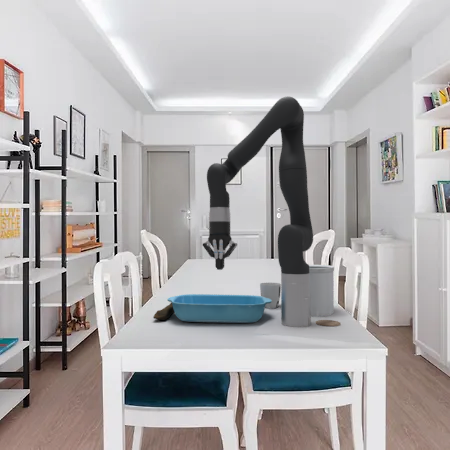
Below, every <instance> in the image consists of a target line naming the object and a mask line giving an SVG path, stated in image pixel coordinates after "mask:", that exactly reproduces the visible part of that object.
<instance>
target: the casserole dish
mask: <svg viewBox="0 0 450 450" xmlns="http://www.w3.org/2000/svg"><path fill="white" fill-rule="evenodd" d="M167 301H168V302H169V303H171V302H172V305H173V309H174V315H175V316H176V317H177V318H178V319H179V321H182V322H189V323H191V322H193V323H229V324H230V323H234V324H235V323H237V324H238V323H239V324H240V323H243V324H247V323H248V324H249V323H257V322H258V321H259V320H260V319H262V317H263V315H264V312H265V309H266V308H265V305H266V304H268V303H271V302H272V300H271V299H269V298H265V297H262V296H261V295H251V294H250V295H249V294H207V293H206V294H203V293H201V294H200V293H199V294H198V293H197V294H196V293H191V294H188V293H187V294H186V293H185V294H179V295H174V296H170V297H168V298H167Z"/></svg>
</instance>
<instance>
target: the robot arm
mask: <svg viewBox="0 0 450 450" xmlns="http://www.w3.org/2000/svg"><path fill="white" fill-rule="evenodd" d="M304 120H305V115H304V109H303V107H302V105H301V104H300V102H299V101H298V100H297V99H296V98H294V97H293V96H284V97H281V98H279V99H278V100H277V101H276V102H275V103H274V104H273V106H272V107H271V108H270V109H269V111H268V112H267V113H266V114H265V115H264V116H263V118H262V119H261V120H260V121H259V122H258V123H257V125H256V126H255V127H254V128H253V129H252V130H251V132H249V134H247V135H246V136H245V137H244V138H243V139H242V140H241V141H240V142H239V143H238V144H237V145H236V146H234V147H233V148H232V149H231V150H230V151H229V152H228V153H227V158H226V160H225V161H224V162H223V163H222V164H221V163H218V162H217V163H215V162H214V163H212V164H211V165H210V166H209V167H208V169H207V172H206V182H207V183H206V184H207V187H208V192H209V212H208V213H209V214H208V234H209V236H208V238H207V241H206V242H202V247H203V248H204V250H206V253H208V255H209V256H210V257H211V258H214V259H215V269H216V270H219V271H221V270H224V268H225V259H226V258H229V257H230V256H231V254H233V252H234V251H235V249H236V248H237V247H238V243H236V242H234V241H233V239H232V237H231V209H230V201H231V200H230V198H231V197H230V194H229V192H228V191H227V184H229V183H230V182H231V181H232V180H233V179H235V177H236V176H237V175H238V174H239V172H240V171H241V170H242V168H244V167H245V166H246V165H247V164H248V163H249V162H250V161H251V160H252V159H254V158H255V157H256V156H257V155H258V154H259V152H260V151H261V150H262V148H263V147H264V146H265V144H266V143H267V141H268V140H269V139H270V138H271V136H273V135H274V134H275V133H276V132H277V131H279V130H280V135H281V150H280V155H279V161H278V181H279V186H280V187H279V188H280V190H281V193H282V196H283V198H284V200H285V203H286V206H287V207H288V212H289V218H290V224H285V225H284V226H282V227H281V228H280V229H279V232H278V235H277V253H278V254H277V256H278V257H277V258H278V265H279V267H280V281H281V282H280V284H281V292H280V300H281V301H280V304H281V305H280V307H281V311H280V312H281V313H280V314H281V315H280V316H281V317H280V319H281V320H280V321H281V322H280V323H281V325H282V326H284V327H289V328H309V326H311V324H312V316H311V296H310V286H309V265H310V264H309V263H307V262H306V261H305V260H304V252H307V251H308V250H310V248H311V247H312V246H313V242H314V230H313V225H312V220H311V215H310V214H311V213H310V207H309V206H310V204H309V203H310V202H309V193H308V190H309V189H308V172H307V161H306V153H305V152H306V151H305V145H304V122H305V121H304ZM228 246H229V248H228ZM227 248H228V249H227Z"/></svg>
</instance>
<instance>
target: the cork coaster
mask: <svg viewBox="0 0 450 450" xmlns="http://www.w3.org/2000/svg"><path fill="white" fill-rule="evenodd" d="M315 324H316V325H317V326H322V327H338V326H341V322H340V321H338V320H333V319H317V320H316V321H315Z"/></svg>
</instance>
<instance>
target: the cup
mask: <svg viewBox="0 0 450 450" xmlns="http://www.w3.org/2000/svg"><path fill="white" fill-rule="evenodd" d="M259 288H260V289H259V290H260V296H262V297H265V298H269V299H271V300H272V302H271V303H268V304H266V305H265V309H278V308H279V305H280V300H281V282H260V283H259Z"/></svg>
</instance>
